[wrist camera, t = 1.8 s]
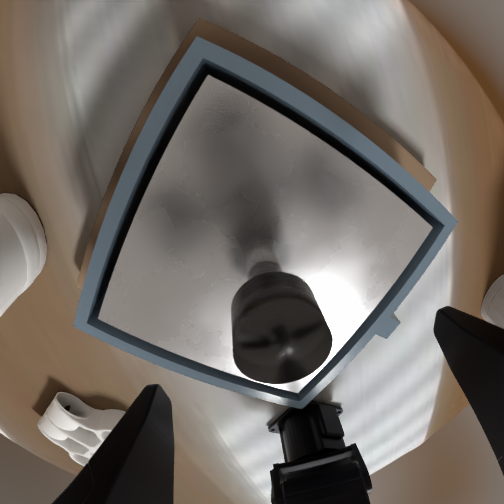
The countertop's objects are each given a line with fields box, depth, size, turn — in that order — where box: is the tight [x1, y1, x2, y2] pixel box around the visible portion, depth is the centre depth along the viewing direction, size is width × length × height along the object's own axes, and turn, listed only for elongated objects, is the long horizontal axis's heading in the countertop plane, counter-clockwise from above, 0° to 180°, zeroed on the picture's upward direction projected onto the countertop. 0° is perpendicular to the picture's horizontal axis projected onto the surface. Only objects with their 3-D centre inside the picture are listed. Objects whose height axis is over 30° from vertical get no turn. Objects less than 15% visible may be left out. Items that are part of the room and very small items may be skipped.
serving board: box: [76, 18, 437, 291], centre depth 19 cm, size 20×19×2 cm
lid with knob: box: [98, 75, 433, 393], centre depth 12 cm, size 13×13×6 cm
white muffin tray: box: [37, 392, 126, 466], centre depth 29 cm, size 3×18×15 cm
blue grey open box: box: [74, 37, 458, 409], centre depth 16 cm, size 15×17×6 cm
